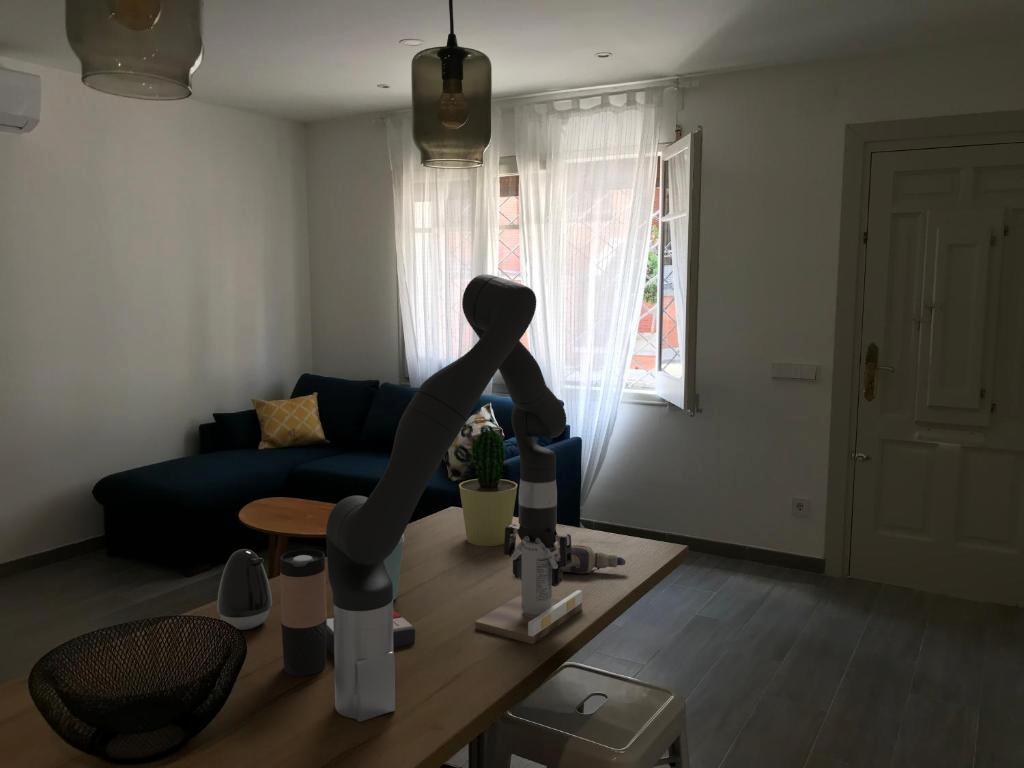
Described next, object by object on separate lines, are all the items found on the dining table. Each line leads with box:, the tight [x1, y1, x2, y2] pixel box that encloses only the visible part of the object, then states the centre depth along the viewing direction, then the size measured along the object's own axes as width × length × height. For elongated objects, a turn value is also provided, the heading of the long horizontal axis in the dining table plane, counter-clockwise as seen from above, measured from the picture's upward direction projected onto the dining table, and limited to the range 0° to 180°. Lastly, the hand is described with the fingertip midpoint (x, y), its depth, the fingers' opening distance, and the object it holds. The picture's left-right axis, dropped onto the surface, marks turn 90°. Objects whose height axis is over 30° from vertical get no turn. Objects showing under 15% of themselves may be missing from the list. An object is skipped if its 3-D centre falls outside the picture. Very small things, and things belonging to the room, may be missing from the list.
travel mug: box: [279, 548, 328, 677], centre depth 141 cm, size 8×8×20 cm
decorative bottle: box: [516, 541, 626, 575], centre depth 192 cm, size 26×8×7 cm, turn 82°
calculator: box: [326, 609, 416, 656], centre depth 153 cm, size 11×4×15 cm
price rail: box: [528, 589, 583, 637], centre depth 160 cm, size 20×1×2 cm, turn 148°
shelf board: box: [474, 593, 583, 645], centre depth 164 cm, size 20×13×2 cm, turn 148°
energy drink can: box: [521, 541, 553, 618], centre depth 162 cm, size 6×6×15 cm
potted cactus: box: [458, 429, 518, 547], centre depth 215 cm, size 15×15×30 cm
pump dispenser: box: [216, 548, 273, 631], centre depth 159 cm, size 10×10×15 cm
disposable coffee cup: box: [384, 532, 405, 601], centre depth 174 cm, size 11×11×15 cm
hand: (537, 581), depth 162 cm, fingers open, 8 cm apart
